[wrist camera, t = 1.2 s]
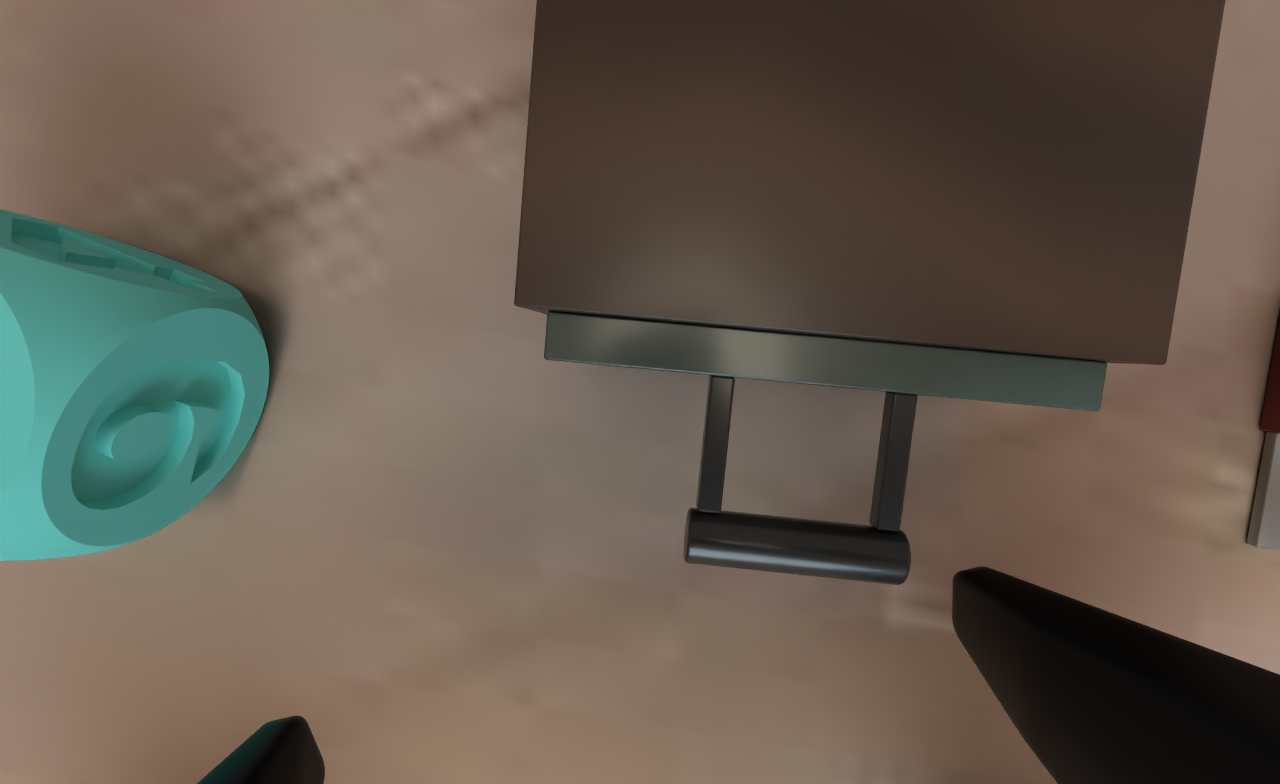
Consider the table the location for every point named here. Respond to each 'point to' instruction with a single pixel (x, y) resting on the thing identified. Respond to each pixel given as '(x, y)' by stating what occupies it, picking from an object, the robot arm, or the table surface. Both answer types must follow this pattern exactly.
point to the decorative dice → (114, 389)
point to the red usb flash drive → (1269, 466)
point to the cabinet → (870, 167)
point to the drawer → (822, 363)
